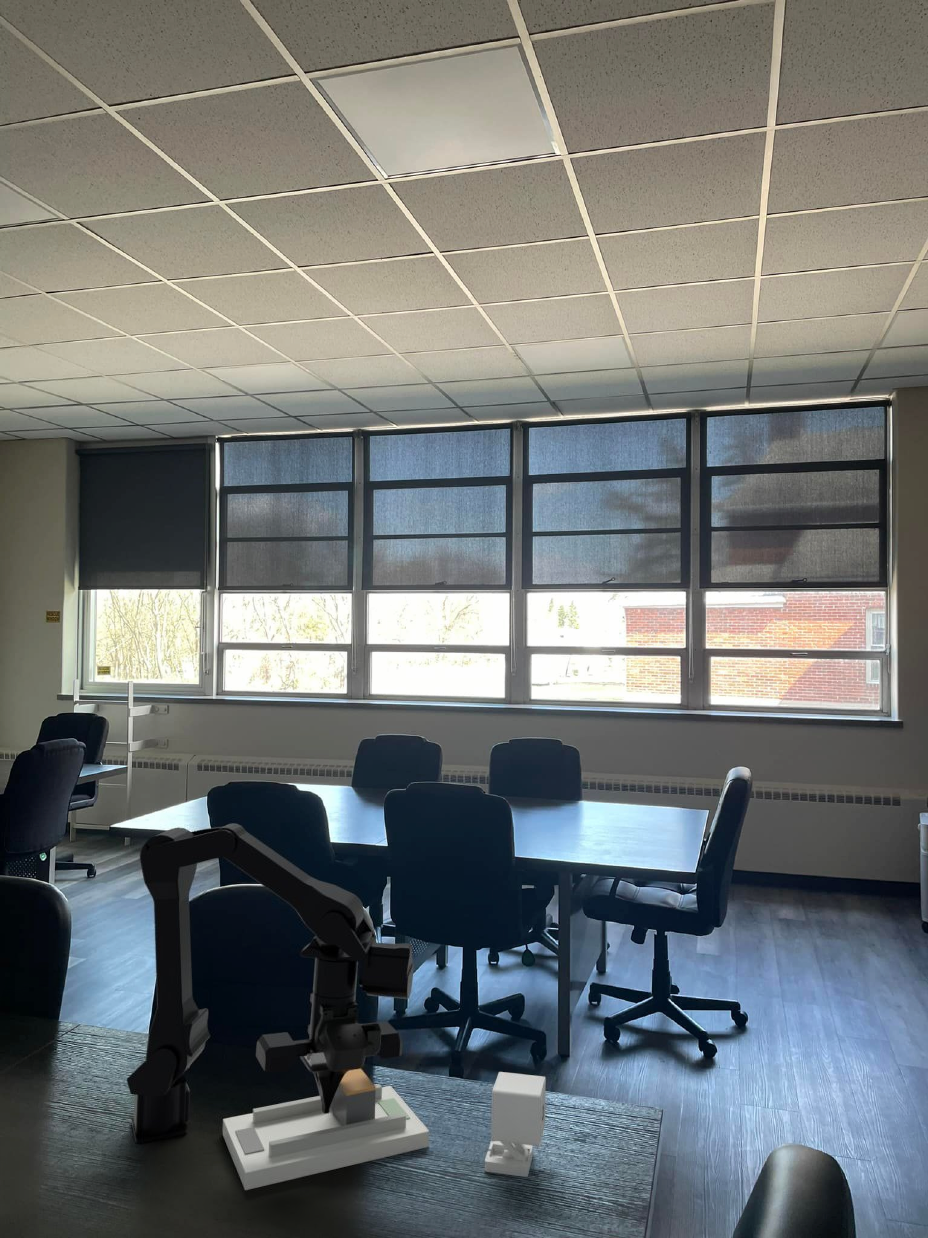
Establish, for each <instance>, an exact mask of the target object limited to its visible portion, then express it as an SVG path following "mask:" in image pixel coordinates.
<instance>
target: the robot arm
mask: <svg viewBox="0 0 928 1238" xmlns="http://www.w3.org/2000/svg"><path fill="white" fill-rule="evenodd" d="M220 858H223V859H224V860H226V861H227V862H229V863H231V864H232V865H233V866H235V867H236V868H237V869H239V870H241V872H243V873H245V874H246V875H247V876H249V877H250V878H251V879H253V880H254V881H256V882H257V883H259V884H260V885H261V886H263V887H264V888H266V889H267V890H269V891H270V892H272V893H273V894H274V895H276V896H277V897H278V898H280V899H281V900H283V901H284V902H285V903H286V904H288V905H289V906H290V907H291V908H292V909H293V910H295V911H296V913H297V915H298V916H299V917H300V919H301V921H302V922H303V924H304V925H305V926H306V928H308V929H309V930H310V931H311V932H312V933H313V934H314V936H313V938H312V939H311V941H310V943H308V944H307V945H305V946H304V947H303V948H302V950H301V951H300V955H299V956H300V957H302V958H313V959H314V971H313V972H314V973H313V987H312V993H310V997H309V998H310V999H309V1001H310V1003H311V1014H310V1024H308V1025H307V1026H308V1027H307V1033H308V1035H309V1038H307V1039H298V1040H293V1039H292V1036H291V1035H290V1034H289V1033H288V1032H286V1031H285V1032H276V1033H268V1034H267V1033H266V1034H261V1036H260V1037H259V1039H258V1040H257V1042H256V1048H255V1057H256V1059H257V1061H258V1062H259V1064H260V1066H261V1068H262V1069H263V1071H264V1072H265V1073H269V1074H270V1073H277V1072H278V1073H279V1072H287V1071H290V1070H292V1069H293V1067H294V1066H295V1065H296V1064H297V1060H298V1059H297V1058H298V1057H299V1058H300V1060H301V1061H302V1063H303V1064H304V1066H305V1067H306V1068H307V1070H308V1071H309V1072H310V1073H312V1074H313V1076H314V1078H315V1082H316V1086H317V1090H318V1094H319V1096H320V1098H321V1101H322V1111H323V1113H324V1114H327V1113H329V1109H330V1105H331V1103H332V1101H333V1098H334V1096H335V1093H336V1091H337V1089H338V1086H339V1084H340V1082H341V1080H342V1078H343V1077H344V1075H345V1074H346V1073H347V1072H348V1071H349V1070H355V1069H360V1068H361V1069H363V1068H364V1066H365V1062H366V1058H368V1057H373V1056H376V1055H378V1057H380V1058H381V1059H389V1058H397V1057H398V1058H399V1057H401V1055H403V1043H404V1042H403V1038H402V1035H401V1034H400V1033H399V1032H398V1031H397V1030H396V1029H395V1027H393V1026H392V1025H391V1024H390V1023H389V1022H388V1021H380V1022H379V1021H378V1022H370V1023H360V1020H359V1009H358V1007H359V1006H358V1003H357V1002H356V995H357V983H358V982H359V983H358V984H359V987H361V991H362V992H365V993H366V996H373V997H384V998H394V999H404V1000H410V996H411V993H412V986H413V980H414V969H415V968H414V965H415V964H414V963H413V954H412V950H413V949H412V948H413V945H412V944H411V943H407V942H406V943H403V942H402V943H387V942H386V943H385V942H376V941H377V938H378V937H377V935H376V934H375V932H374V931H373V929H372V927H371V926H370V924H369V923H368V921H367V920H366V918H365V916H364V915H365V911H364V905H363V902H362V901H361V899H360V898H359V897H358V896H357V895H356V894H354V893H352V892H350V891H348V890H347V889H344V888H342V887H339V886H338V885H336V884H332V883H329V882H325V881H322V880H319V879H317V878H314V877H313V876H310V875H309V874H307V873H306V872H305V871H303V870H302V869H300V868H299V867H297V866H296V865H295V864H293V863H292V862H290V861H289V860H288V859H286V858H285V857H283V856H282V855H280V854H279V853H278V852H276V851H275V850H273V849H272V848H270V847H269V846H268V845H266V844H264V842H262V841H260V840H259V839H258V838H256V837H255V836H254V835H252V834H251V833H249V832H248V831H247V830H246V829H245V828H244V827H243V826H242V825H240V824H238V823H228V824H226V825H224V826H219V827H209V828H203V829H198V830H193V831H190V829H187V828H185V827H179V826H178V827H175V828H170V829H168V830H166V831H164V832H161V833H159V834H156V835H153V836H151V838H149V839H147V840H146V841H145V843H144V844H143V845H142V847H141V849H140V852H139V863H140V866H141V873H142V877H143V883H144V884H145V886H146V889H147V890H148V892H149V894H150V896H151V898H152V901H153V912H154V913H153V918H154V921H153V922H154V951H155V955H154V956H155V982H156V983H155V984H156V1010H155V1012H154V1016H153V1019H152V1023H151V1026H150V1030H149V1033H148V1039H147V1045H146V1053H145V1060H144V1061H143V1062H142V1063H141V1064H140V1065H138V1067H137V1068H136V1069H135V1070H134V1071H133V1072H132V1073H131V1074H130V1075H129V1076H128V1077H127V1078H126V1082H127V1086H128V1090H129V1093H130V1095H132V1096H134V1104H133V1105H134V1106H133V1107H134V1109H133V1117H132V1118H131V1122H130V1123H131V1126H132V1130H133V1135H134V1140H135V1143H136V1144H142V1143H147V1142H152V1141H157V1140H161V1139H168V1138H171V1137H177V1136H182V1135H185V1134H187V1133H188V1125H187V1123H189V1121H190V1108H191V1102H190V1101H191V1091H190V1088H189V1085H188V1084H187V1079H186V1076H185V1072H186V1071H188V1069H190V1067H191V1065H192V1063H194V1061H196V1059H197V1058H198V1057H199V1055H200V1054H202V1052H203V1050H204V1049H205V1047H206V1042H207V1040H208V1039H209V1038H210V1037H211V1034H210V1031H209V1029H208V1019H209V1008H202V1009H199V1008H198V1006H197V1004H196V1002H195V1000H194V997H193V979H192V978H193V977H192V951H191V949H192V948H191V947H192V946H191V921H190V920H191V919H190V918H191V917H190V915H191V914H190V892H191V889H192V884H193V881H194V879H195V875H196V872H197V868H198V867H197V866H198V864H199V863H202V862H207V861H210V860H214V859H220ZM359 963H360V966H359V975H358V965H359ZM358 976H359V977H358ZM358 978H359V980H357V979H358ZM357 981H358V982H357Z"/></svg>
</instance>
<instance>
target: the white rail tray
mask: <svg viewBox="0 0 928 1238" xmlns="http://www.w3.org/2000/svg"><path fill="white" fill-rule="evenodd" d="M374 1085H375V1087H376V1093H375V1119H372V1120H367V1121H363V1122H358V1123H353V1124H349V1125H344V1126H342V1125H341V1123H340V1122H339V1120H338V1119H337V1117H336V1116H335V1114H334V1113H333V1111H332V1103H331V1105H330V1109H329V1113H327V1114H324V1113H323V1111H322V1101H321V1098H320V1095H317V1096H313V1097H307V1098H303V1099H297V1100H293V1101H292V1100H291V1101H286V1102H281V1103H278V1104H272V1105H267V1106H262V1107H256V1108H252V1113H247V1114H246V1113H245V1114H242V1115H237V1116H231V1117H227V1118H223V1119H222V1136H223V1139H224V1141H225V1143H226V1146H227V1149H228V1152H229V1154H230V1156H231V1159H232V1162H233V1164H234V1166H235V1168H236V1171H237V1174H238V1177H239V1178H240V1181H241V1183H242V1186H243V1189H244V1191H249V1190H252V1189H257V1188H261V1187H265V1186H269V1185H274V1184H277V1183H282V1182H286V1181H290V1180H295V1179H299V1178H302V1177H303V1178H304V1177H307V1176H312V1175H315V1174H321V1173H324V1172H328V1171H332V1170H336V1169H340V1168H344V1167H349V1166H353V1165H358V1164H363V1163H365V1162H371V1161H375V1160H379V1159H383V1158H387V1157H391V1156H395V1155H400V1154H405V1153H408V1152H411V1151H416V1150H417V1151H418V1150H421V1149H426V1148H429V1146H430V1131H429V1130H430V1129H428V1128H427V1127H426V1125H425V1124H424V1123H423V1121H421V1120H420V1119H419V1117H418V1116H417V1114H415V1112H414V1111H413V1110H412V1109H411V1108H410V1106H408V1104H407V1103H406V1102H405V1101H404V1100H403V1098H402V1097H401V1096H400V1095H399V1094H398V1093H397V1092H396V1090H395V1089H394V1088H393V1087H392V1086H391V1085H387V1086H382V1085H381V1084H380V1083H377V1084H374Z"/></svg>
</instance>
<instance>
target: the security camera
mask: <svg viewBox="0 0 928 1238" xmlns="http://www.w3.org/2000/svg"><path fill="white" fill-rule="evenodd" d="M546 1079H547V1078H546V1076H541V1075H531V1074H523V1073H515V1072H506V1071H505V1072H503V1071H498V1074H497V1077H496V1080H495V1082H494V1085H493V1088H492V1091H491V1119H490V1121H491V1122H490V1126H491V1129H490V1144H489V1146H488V1150H487V1153H486V1155H485V1159H484V1171H485V1172H487V1173H492V1174H493V1173H494V1174H501V1175H508V1176H509V1175H510V1176H519V1177H524V1178H528V1176H529V1172H530V1169H531V1165H532V1160H533V1157H534V1147H537V1148H541V1146H542V1140H543V1136H544V1132H545V1131H544V1130H545V1125H546V1082H547V1081H546Z"/></svg>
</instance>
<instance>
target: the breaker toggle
mask: <svg viewBox="0 0 928 1238" xmlns="http://www.w3.org/2000/svg"><path fill="white" fill-rule="evenodd" d="M375 1085H376V1084H374V1083H373V1081H371V1079H370V1078H369V1077H368V1075H367V1074H366V1073H365V1072H364V1070H363V1068H360V1069H350V1070H349V1071H348V1072H347V1073H346V1074H345V1075H344V1077H343V1078H342V1080H341V1082H340V1084H339V1086H338V1089H337V1091H336V1093H335V1096H334V1098H333V1101H332V1111H333V1113H334V1114H335V1116H336V1117H337V1119H338V1120H339V1122H340V1123H341V1125H342V1126H344V1125H349V1124H353V1123H358V1122H363V1121H367V1120H372V1119H375V1093H376V1087H375Z"/></svg>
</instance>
